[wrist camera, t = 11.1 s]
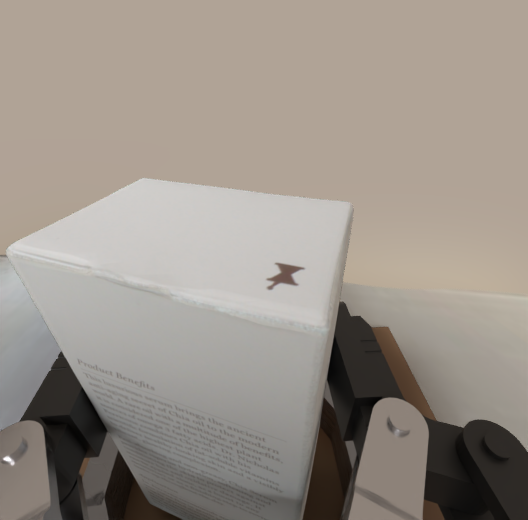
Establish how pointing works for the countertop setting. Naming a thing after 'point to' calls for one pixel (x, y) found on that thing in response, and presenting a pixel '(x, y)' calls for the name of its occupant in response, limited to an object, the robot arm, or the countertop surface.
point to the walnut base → (318, 455)
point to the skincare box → (199, 335)
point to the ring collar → (121, 478)
